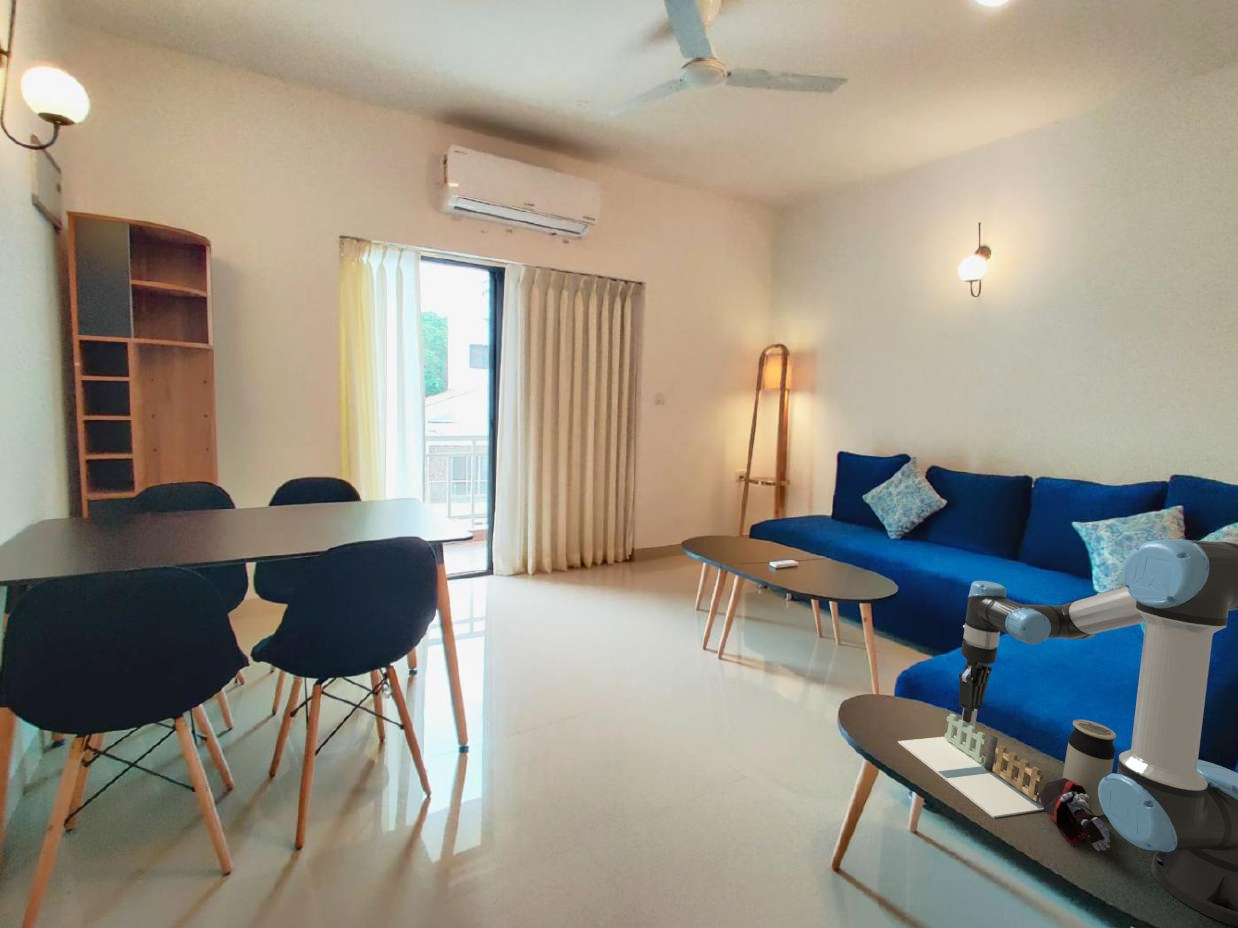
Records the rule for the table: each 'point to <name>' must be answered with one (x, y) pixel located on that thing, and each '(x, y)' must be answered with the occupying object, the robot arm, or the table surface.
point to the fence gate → (969, 739)
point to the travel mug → (1089, 759)
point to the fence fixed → (1012, 768)
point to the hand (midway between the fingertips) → (966, 732)
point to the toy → (1073, 813)
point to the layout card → (972, 777)
